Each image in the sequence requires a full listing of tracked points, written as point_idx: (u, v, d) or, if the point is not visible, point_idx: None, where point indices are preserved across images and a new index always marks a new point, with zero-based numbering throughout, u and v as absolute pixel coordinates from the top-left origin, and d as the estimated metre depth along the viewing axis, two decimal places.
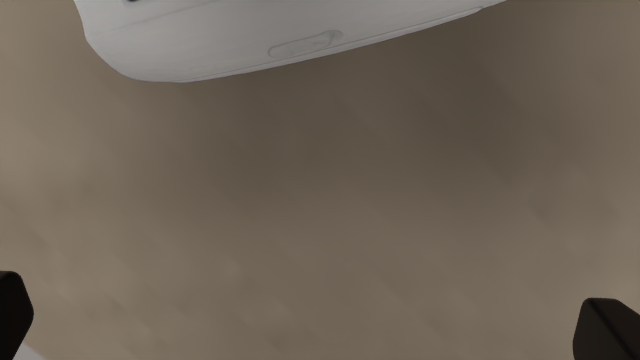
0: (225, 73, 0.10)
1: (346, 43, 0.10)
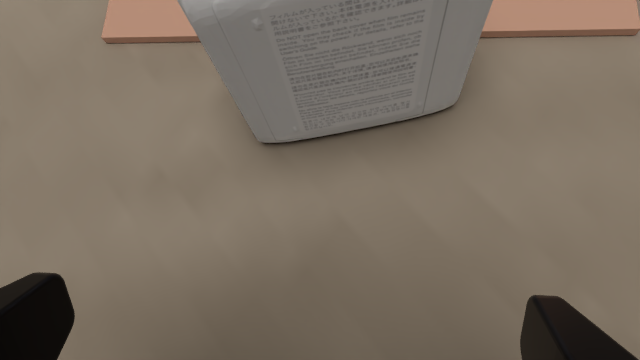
0: None
1: None
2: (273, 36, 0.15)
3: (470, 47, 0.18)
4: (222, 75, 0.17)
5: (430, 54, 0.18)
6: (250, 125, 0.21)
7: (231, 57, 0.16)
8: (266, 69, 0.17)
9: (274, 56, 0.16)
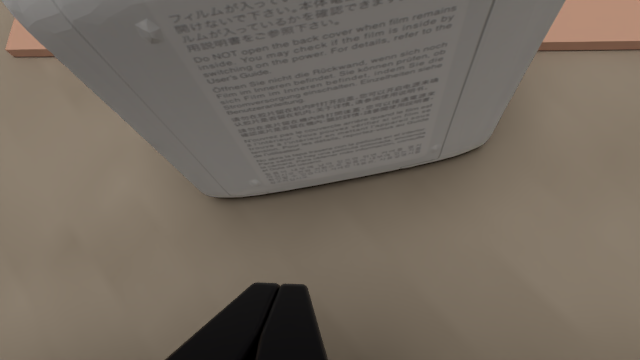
0: None
1: None
2: (185, 53, 0.08)
3: (519, 68, 0.11)
4: (120, 114, 0.10)
5: (458, 79, 0.11)
6: (189, 178, 0.14)
7: (123, 87, 0.09)
8: (190, 105, 0.10)
9: (197, 85, 0.09)
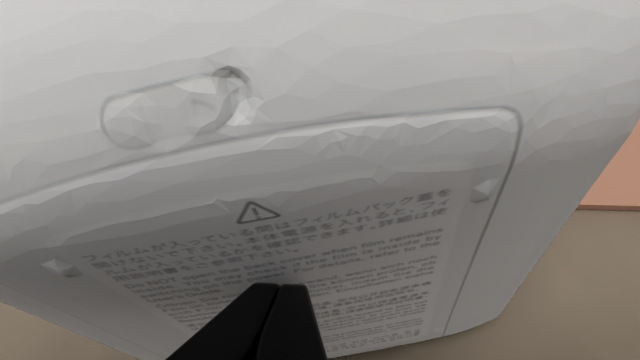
0: (23, 202, 0.05)
1: (262, 134, 0.05)
2: (113, 281, 0.07)
3: (528, 263, 0.10)
4: None
5: (455, 280, 0.09)
6: None
7: (47, 307, 0.08)
8: (132, 318, 0.08)
9: (136, 304, 0.08)
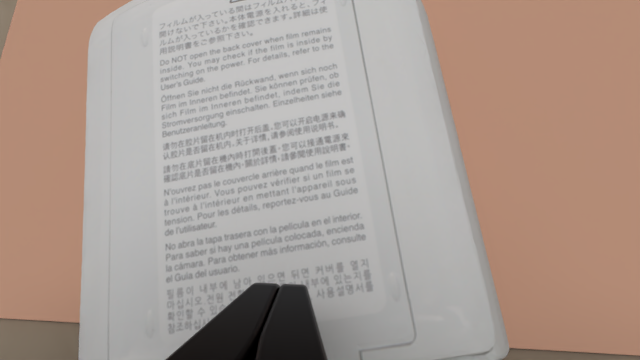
0: None
1: None
2: (157, 55, 0.13)
3: (435, 128, 0.12)
4: (87, 141, 0.13)
5: (367, 120, 0.12)
6: (82, 305, 0.12)
7: (107, 95, 0.13)
8: (139, 120, 0.13)
9: (153, 91, 0.13)
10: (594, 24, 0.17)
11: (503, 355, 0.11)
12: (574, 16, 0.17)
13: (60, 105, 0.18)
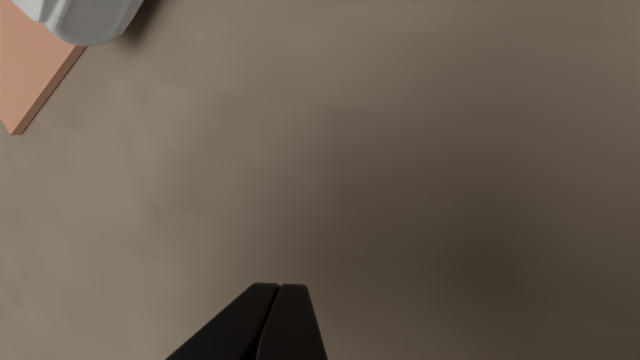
0: None
1: None
2: None
3: None
4: None
5: None
6: None
7: None
8: None
9: None
10: None
11: None
12: None
13: None
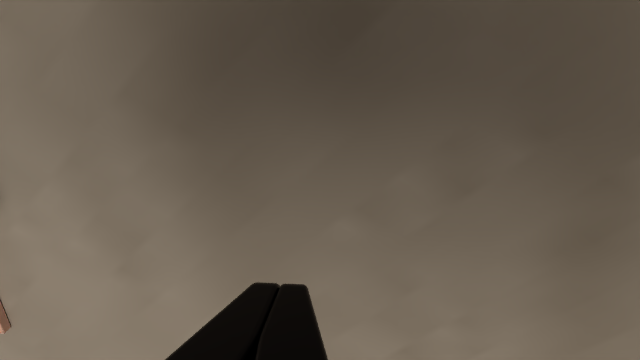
0: None
1: None
2: None
3: None
4: None
5: None
6: None
7: None
8: None
9: None
10: None
11: None
12: None
13: None
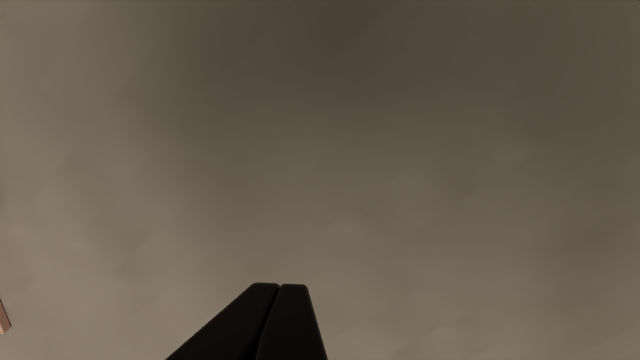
0: None
1: None
2: None
3: None
4: None
5: None
6: None
7: None
8: None
9: None
10: None
11: None
12: None
13: None
